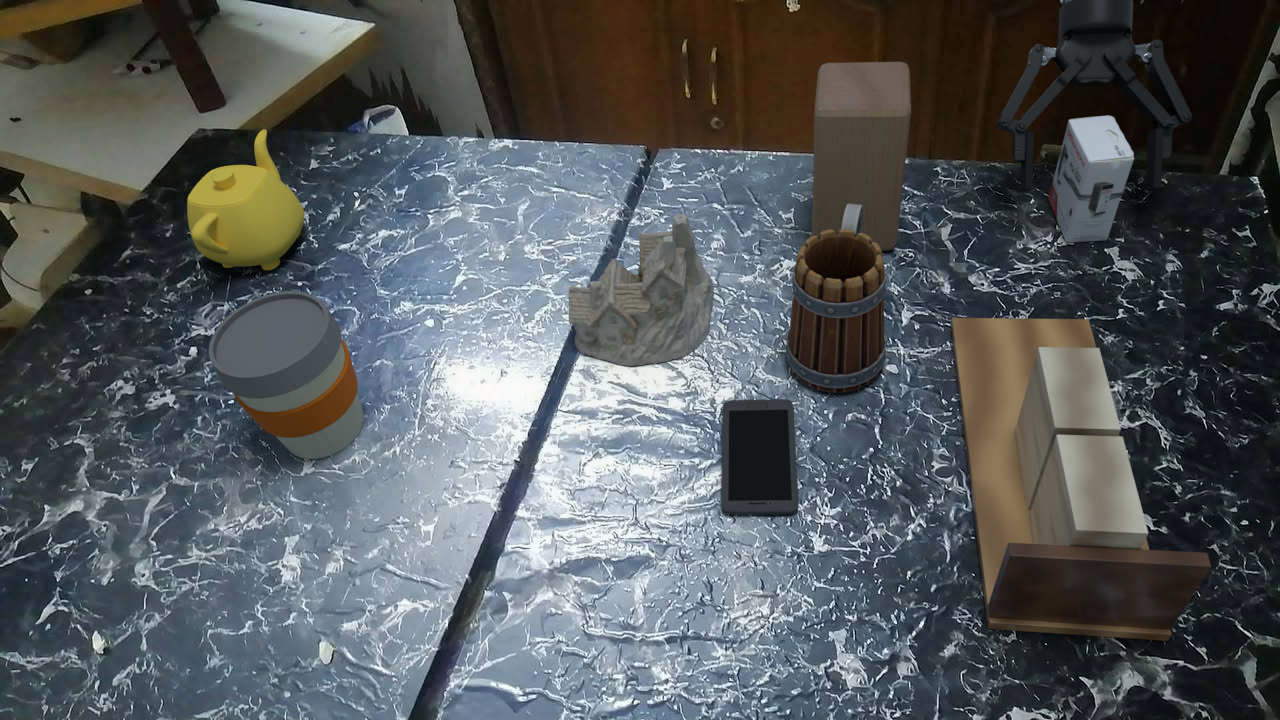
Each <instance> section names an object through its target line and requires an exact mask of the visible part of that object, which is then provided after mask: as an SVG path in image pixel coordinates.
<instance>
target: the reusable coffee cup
mask: <svg viewBox="0 0 1280 720" xmlns="http://www.w3.org/2000/svg"><path fill="white" fill-rule="evenodd" d="M208 355H209V360H210V363H211V365H212V366H213V368H214V371H215V372H216V375H217V377H218V379H219V380H220V382H221V384H222V386H223V387H224V388H225V389H226V390H227V391H229V392H230V393H231V394H234V397H235V398H234V399H236V402H238V404H239V405H240V406H241V408H242V409H243V410H244V411H245V412H246V413H247V414H248V415H249V416H250V417H251V418H252V419H253V420H254V421H255V423H257V424H258V425H259V426H260V428H262V429H263V431H265V433H268V434H270V435H273V436H275V437H276V438H277V439H278V441H279V442H280V443H281V444H282V445H283V446H284V448H286V449H287V450H288V451H289V452H290V453H291V454H292V455H294V456H296V457H298V458H300V459H303V460H304V459H305V460H318V459H319V460H320V459H324V458H326V457H330V456H333V455H336V454H338V453H339V452H340V451H342V450H345V448H347V447H348V446H350V445H351V444H352V443H353V442H354V440H356V439H357V437H358V436H359V434H360V432H362V429H363V427H364V422H365V413H364V410H363V409H364V408H363V407H362V404H361V400H360V396H359V393H358V389H359V384H358V383H359V382H358V381H359V380H358V377H357V374H356V371H355V368H354V365H353V361H352V358H351V355H350V352H349V349H348V347H347V344H346V343H345V342H344V340H343V339H342V330H341V327H340V325H339V323H338V321H337V320H336V318H335V317H334V315H333V314H332V312H330V309H329V308H328V306H327V305H326V304H325V303H324V302H323V300H322V299H320V298H319V297H317V296H316V295H313V294H312V293H309V292H306V291H305V292H304V291H298V290H285V291H278V292H273V293H269V294H265V295H262V296H260V297H258V298H254V299H252V300H250V301H249V302H246V303H244V304H243V305H241V306H240V307H238V308H236V309H235V310H233V311H232V312H231V313H230V314H229V315H228V316H227V317H225V318H224V319H223V320H222V322H221V323H220V324H219V325H218V326H217V327H216V329H215V330H214V332H213V334H212V336H211V338H210V342H209V345H208Z"/></svg>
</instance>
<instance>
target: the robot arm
mask: <svg viewBox="0 0 1280 720" xmlns="http://www.w3.org/2000/svg"><path fill="white" fill-rule="evenodd" d="M1059 2H1060V3H1061V4H1062V6H1061V7H1060V8H1059V10H1058V38H1057V46H1056V47H1045V46H1044V45H1043V44H1042V43H1036V44H1035V45H1034V46H1033V47H1032V48H1031V49H1030V51H1028V54H1027V58H1026V59H1027V60H1026V65H1025V66H1026V67H1025V70H1024V71H1023V74H1022V75H1021V77H1020V79H1019V81H1018V83H1017V84H1016V86H1015V88H1014V90H1013V92H1012V94H1011V95H1010V97H1009V99H1008V100H1007V103H1006V105H1005V107H1004V109H1003V110H1002V111H1001V114H1000V116H999V117H998V119H997V121H996V123H995V126H996V127H995V128H996V129H997V130H999V131H1005V132H1008V133H1010V135H1011V137H1012V141H1011V142H1012V144H1011V145H1012V146H1011V160H1012V162H1013V163H1020V175H1019V177H1020V180H1019V193H1028V192H1030V191H1032V190H1033V180H1034V179H1033V178H1034V177H1033V175H1034V173H1033V172H1034V148H1035V147H1034V146H1035V144H1034V142H1035V131H1027V129H1028V128H1029V127H1030V126H1031V125H1032V123H1033V122H1034V121H1035V120H1036V119H1037V118H1038V117H1039V116H1040V115H1041V114H1042V112H1044V110H1045V109H1046V108H1047V107H1048V106H1049V105H1050V104H1051V103H1052V102H1053V100H1054V99H1055V98H1056V97H1057V96H1058V95H1059V94H1060V93H1061V91H1062V90H1063V89H1064V88H1065V87H1066V86H1067V85H1068V84H1069V83H1070V84H1072V85H1074V86H1075V88H1084V87H1087V86H1095V87H1105V86H1107V85H1109V84H1112V86H1114V88H1115V89H1116V90H1118V91H1120V92H1121V93H1122V95H1124V96H1125V97H1126V99H1127V100H1128V101H1129V102H1130V103H1131V105H1132V106H1133V107H1134V108H1135V109H1136V110H1137V111H1138V112H1139V114H1141V116H1142V117H1143V118H1144V119H1145V120H1146V121H1147V122H1148V123H1149V125H1150V126H1151V127H1152V128H1153V130H1152V131H1150V132H1148V133H1147V135H1146V136H1147V138H1146V164H1145V165H1146V166H1145V187H1144V188H1145V189H1144V190H1145V192H1154V191H1156V190H1159V189H1161V188H1162V177H1163V176H1162V175H1163V161H1166V160H1169V159H1170V158H1171V155H1172V151H1173V131H1174V129H1176V128H1177V127H1181V126H1183V125H1185V124H1187V123H1189V122H1191V120H1192V119H1193V115H1192V114H1193V113H1192V112H1191V110H1190V108H1189V106H1188V104H1187V102H1186V99H1185V98H1184V96H1183V94H1182V92H1181V89H1180V88H1179V85H1178V83H1177V82H1176V80H1175V78H1174V76H1173V74H1172V72H1171V69H1170V68H1169V65H1168V63H1167V62H1166V60H1165V54H1164V42H1163V41H1162V39H1154V40H1152V41H1151V42H1149V43H1142V44H1135V43H1134V41H1133V38H1132V36H1133V34H1132V33H1133V12H1134V1H1133V0H1059ZM1134 57H1135V58H1137V59H1138V61H1139V63H1140V64H1142V65H1144V68H1145V71H1146V73H1147V75H1148V77H1149V80H1150V81H1151V84H1152V85H1153V87H1154V89H1155V92H1156V93H1157V95H1158V97H1159V99H1160V101H1161V103H1162V105H1163V106H1162V105H1161V104H1160V103H1159V101H1158V100H1157V99H1156V98H1155V97H1154V96H1153V95H1152V93H1150V91H1149V90H1148V89H1147V88H1146V87H1145V86H1144V84H1143V83H1142V82H1141V81H1140V80H1139V79H1138V77H1137V74H1136V73H1135V72H1134V70H1133V69H1132V68H1131V67H1130V66H1129V63H1130V62H1131V61H1132V60H1133V58H1134ZM1050 60H1053V62H1054V63H1055V64H1056V66H1057V67H1058V69H1059V70H1060V71H1061V73H1060V74H1059V76H1058V77H1057V78H1056V79H1054V81H1053V82H1052V83H1051V84H1050V85H1049V87H1048V88H1047V89H1046V90H1045V91H1044V92H1043V93H1042V94H1041V96H1040V97H1039V98H1038V99H1037V100H1036V101H1035V102H1034V103H1033V104H1032V105H1031V107H1030V108H1029V109H1028V110H1027V111H1026V112H1025V113H1024V115H1023V116H1021V118H1020V119H1015V118H1014V117H1015V116H1016V114H1017V112H1018V110H1019V108H1020V107H1021V105H1022V103H1023V101H1024V99H1025V98H1026V96H1027V94H1028V92H1029V90H1030V88H1031V86H1032V85H1033V83H1034V81H1035V79H1036V77H1037V76H1038V73H1039V72H1040V69H1041V68H1042V69H1043V68H1044V67H1046V65H1048V63H1049V61H1050Z"/></svg>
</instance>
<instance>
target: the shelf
mask: <svg viewBox="0 0 1280 720" xmlns="http://www.w3.org/2000/svg"><path fill="white" fill-rule="evenodd" d="M950 333H951V339H952V349H953V357H954V364H955V373H956V380H957V381H956V382H957V388H958V399H959V405H960V413H961V414H960V415H961V422H962V430H963V438H964V445H965V454H966V462H967V469H968V478H969V479H968V480H969V486H970V493H971V504H972V511H973V520H974V527H975V534H976V543H977V552H978V559H979V568H980V576H981V583H982V585H981V586H982V592H983V601H984V608H985V609H984V610H985V616H986V624H987V626H986V627H987V629H988V630H1000V631H1013V632H1014V631H1015V632H1027V633H1028V632H1029V633H1045V634H1058V635H1059V634H1060V635H1073V636H1074V635H1075V636H1086V637H1087V636H1089V637H1103V638H1116V639H1117V638H1118V639H1131V640H1134V639H1135V640H1148V641H1163V642H1168V641H1169V640H1170V638H1171V636H1172V633H1173V632H1172V628H1173V627H1174V626H1175V624H1176V622H1177V621H1178V619H1179V618H1180V616H1181V615H1182V613H1183V612H1184V610H1185V608H1186V607H1187V605H1188V604H1189V602H1190V600H1191V599H1192V597H1193V596H1194V594H1195V593H1196V592H1197V590H1198V588H1199V587H1200V585H1201V584H1202V583H1203V580H1204V579H1205V577H1206V576H1207V575H1208V573H1209V571H1210V569H1211V568H1212V564H1211V561H1210V557H1209V554H1208V553H1207V552H1200V551H1181V550H1180V551H1179V550H1178V551H1177V550H1160V549H1159V550H1158V549H1150V547H1149V543H1148V539H1147V537H1148V536H1149V530H1148V527H1147V522H1146V519H1145V515H1144V511H1143V507H1142V504H1141V500H1140V496H1139V492H1138V489H1137V485H1136V482H1135V481H1136V480H1135V477H1134V473H1133V470H1132V466H1131V461H1130V459H1129V455H1128V451H1127V448H1126V443H1125V440H1124V436H1120V433H1121V430H1122V428H1121V424H1120V420H1119V417H1118V413H1117V410H1116V405H1115V402H1114V398H1113V394H1112V390H1111V388H1110V387H1111V386H1110V383H1109V378H1108V376H1107V375H1108V374H1107V372H1106V368H1105V365H1104V361H1103V357H1102V353H1101V349H1100V347H1097V345H1096V343H1095V342H1096V341H1095V337H1094V333H1093V329H1092V326H1091V322H1090V319H1089V318H1016V317H1015V318H1006V317H1005V318H1004V317H1001V318H999V317H997V318H996V317H952V318H951V321H950Z"/></svg>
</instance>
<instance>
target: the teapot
mask: <svg viewBox="0 0 1280 720" xmlns="http://www.w3.org/2000/svg"><path fill="white" fill-rule="evenodd" d="M267 136H268V131H267V129H266V128H264V129H262V130H260V131H259V132H258V133H257V135H256V137H255V139H254V146H253V147H254V148H253V149H254V158H255V165H256V166H255V165H249V164H232V165H225V166H219V167H216V168H214V169H211V170H210V171H208V172H207V173H206V174H205V175H204V176H203V177H201V179H200V180H199V181H198V182H197V183H196V184H195V186H194V187H193V188H192V190H191V191H190V193H189V194H188V196H187V199H186V200H187V201H186V209H187V210H186V211H187V222H188V223H187V224H188V229H189V233H190V236H191V239H192V242H193V244H194V245H195V247H196V250H197V251H198V252H199V253H200V254H201V255H203V256H204V257H205V258H207V259H209V260H211V261H213V262H216V263H218V264H222V267H223V268H226V269H230V268H233V267H241V268H243V267H244V268H245V267H256V266H261V269H262V270H264V271H272V270H275V269H276V268H278V266H279V265H280V264H281V259H280V258H282V256H284V255H285V254H286V253H287V252H288V251H289V250H290V249H291V247H293V245H294V243H295V242H296V240H297V238H299V237H300V235H301V234H302V233H301V232H302V229H303V226H304V223H305V215H306V214H305V209H304V207H303V205H302V202H300V200H299V198H298V197H297V196H296V195H295V193H294V192H293V190H291V189H290V188H289V187H288V185H286V184H285V183H284V182H283V181H282V179H281V175H280V172H279V170H278V169H277V166H276V165H275V162H274V161H273V159H272V158H271V156H270V153H269V150H268V146H267Z"/></svg>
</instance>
